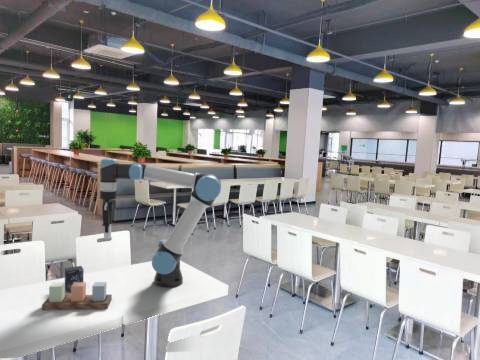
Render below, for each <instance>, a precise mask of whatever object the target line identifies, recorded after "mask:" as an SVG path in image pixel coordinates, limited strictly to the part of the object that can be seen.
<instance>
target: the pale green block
mask: <svg viewBox="0 0 480 360" xmlns="http://www.w3.org/2000/svg"><path fill="white" fill-rule="evenodd" d="M48 290H49V291H48V293H49V294H48V297H49V302H52V303H54V302H62V300H63V299H64V298H65V295H66V290H65V281H64V282H63V281H61V282H52V283H51V284H50V285H49V288H48Z"/></svg>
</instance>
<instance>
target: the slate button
mask: <svg viewBox="0 0 480 360" xmlns="http://www.w3.org/2000/svg"><path fill="white" fill-rule="evenodd" d="M91 287H92V288H91V291H92V293H91V295H92V301H104V300H105V298H106V295H107V281H95V282H94V283H93V284H92V286H91Z"/></svg>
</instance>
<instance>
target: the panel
mask: <svg viewBox="0 0 480 360" xmlns="http://www.w3.org/2000/svg"><path fill="white" fill-rule="evenodd" d="M112 295H113V294H106V298H105V300H104V301H92V294H86V297H85V299H84V300H83V302H71V294H65V298H64V299H63V300H62V302H49V296H48V297H47V298H46V300H45V301H44V302H43V303H42V304H41V310H42V311H62V310H63V311H67V310H69V311H71V310H72V311H73V310H108V309H109V307H110V304H111V302H112V300H113V299H112Z"/></svg>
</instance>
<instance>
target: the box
mask: <svg viewBox="0 0 480 360" xmlns="http://www.w3.org/2000/svg"><path fill="white" fill-rule="evenodd" d="M84 269H85V268H83V266H82V265H78V266H72V267H71V266H69V267H65V268H64V282H65V293H68V292H71V286H72V285H73V283H74V282H84Z"/></svg>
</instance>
